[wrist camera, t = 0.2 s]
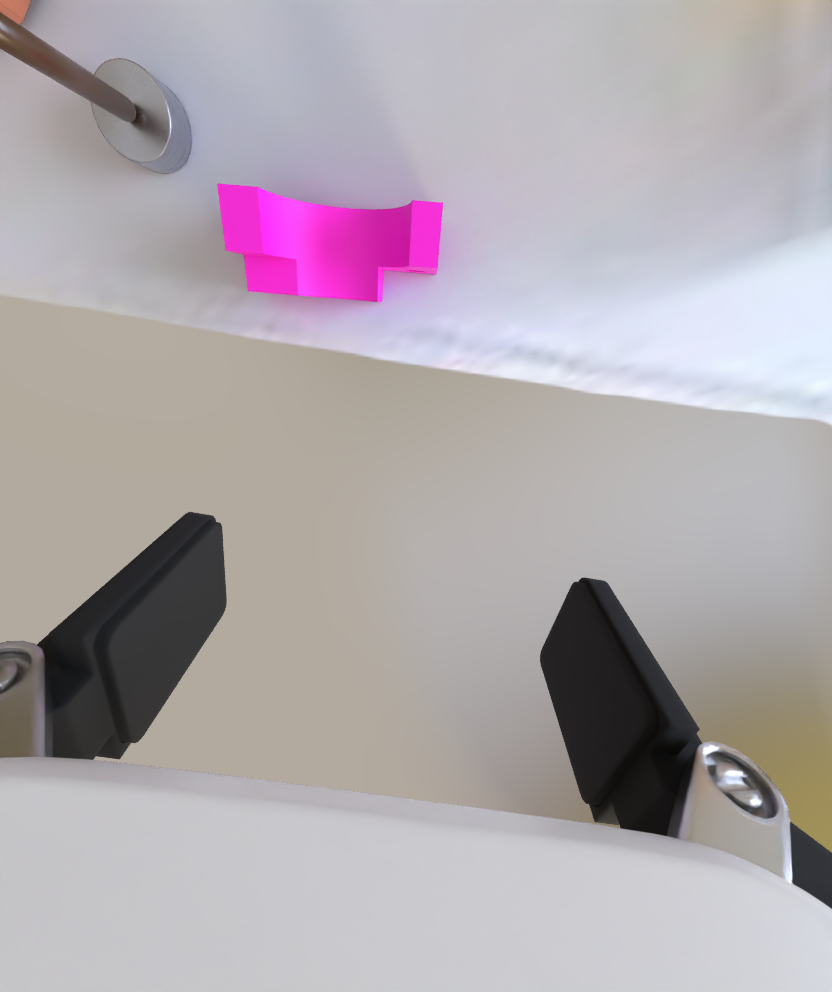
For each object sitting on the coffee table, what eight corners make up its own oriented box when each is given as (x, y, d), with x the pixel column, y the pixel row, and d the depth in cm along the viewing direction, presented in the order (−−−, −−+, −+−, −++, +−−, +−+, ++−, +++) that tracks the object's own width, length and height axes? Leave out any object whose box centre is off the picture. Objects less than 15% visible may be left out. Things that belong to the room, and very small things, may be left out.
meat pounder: (112, 70, 29) (-210, -163, 14) (188, 87, 29) (-51, -124, 15) (124, 165, 31) (-139, 49, 17) (194, 180, 31) (-4, 79, 17)
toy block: (268, 292, 35) (230, 290, 28) (261, 207, 32) (217, 183, 25) (433, 306, 35) (434, 307, 28) (440, 223, 32) (442, 202, 26)
